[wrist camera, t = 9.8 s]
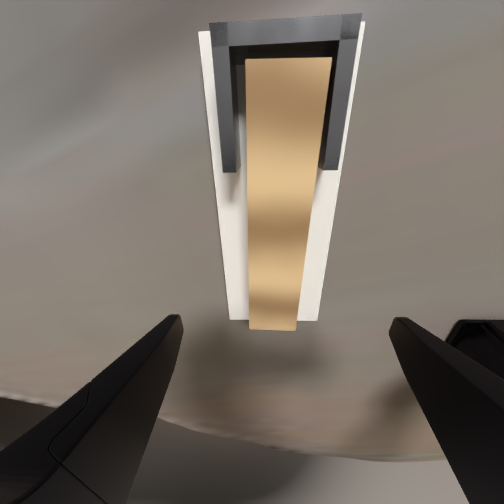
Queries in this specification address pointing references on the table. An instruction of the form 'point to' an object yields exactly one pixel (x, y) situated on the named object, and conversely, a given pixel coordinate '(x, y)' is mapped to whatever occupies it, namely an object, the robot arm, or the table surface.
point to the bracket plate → (235, 140)
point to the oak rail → (281, 180)
